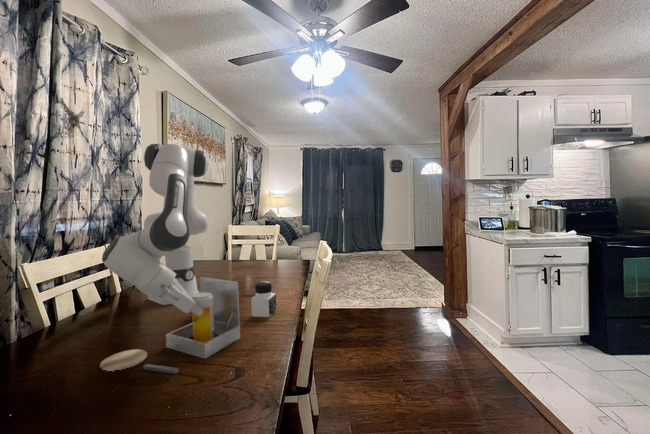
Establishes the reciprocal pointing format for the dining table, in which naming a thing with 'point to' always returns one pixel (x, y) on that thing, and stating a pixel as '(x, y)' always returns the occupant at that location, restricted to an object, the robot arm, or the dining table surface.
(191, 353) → the case
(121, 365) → the pad
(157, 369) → the bar
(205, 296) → the beer can
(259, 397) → the dining table surface
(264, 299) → the medicine bottle
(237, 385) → the dining table surface
